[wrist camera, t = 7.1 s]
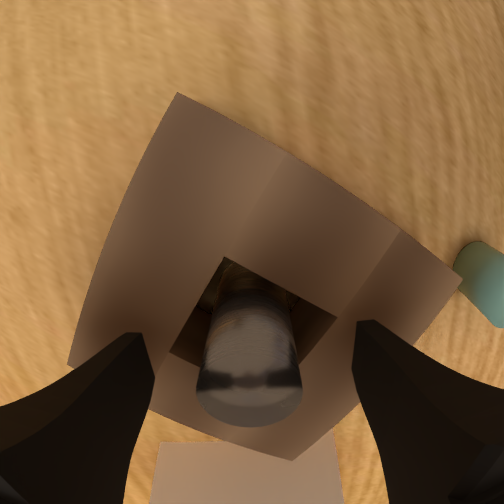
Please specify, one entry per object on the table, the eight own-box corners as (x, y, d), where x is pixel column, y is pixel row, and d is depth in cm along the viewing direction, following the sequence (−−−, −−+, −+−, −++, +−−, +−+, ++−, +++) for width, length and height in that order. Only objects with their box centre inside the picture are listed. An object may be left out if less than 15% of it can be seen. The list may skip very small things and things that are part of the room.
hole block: (420, 246, 14) (463, 279, 10) (287, 409, 18) (292, 461, 14) (199, 105, 12) (177, 92, 8) (99, 320, 16) (67, 364, 12)
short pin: (497, 240, 14) (539, 266, 10) (488, 290, 15) (524, 323, 11) (456, 241, 14) (496, 269, 10) (448, 294, 15) (482, 331, 11)
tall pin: (282, 255, 14) (303, 350, 8) (285, 313, 15) (301, 424, 9) (216, 259, 15) (186, 356, 8) (223, 317, 16) (205, 427, 9)
